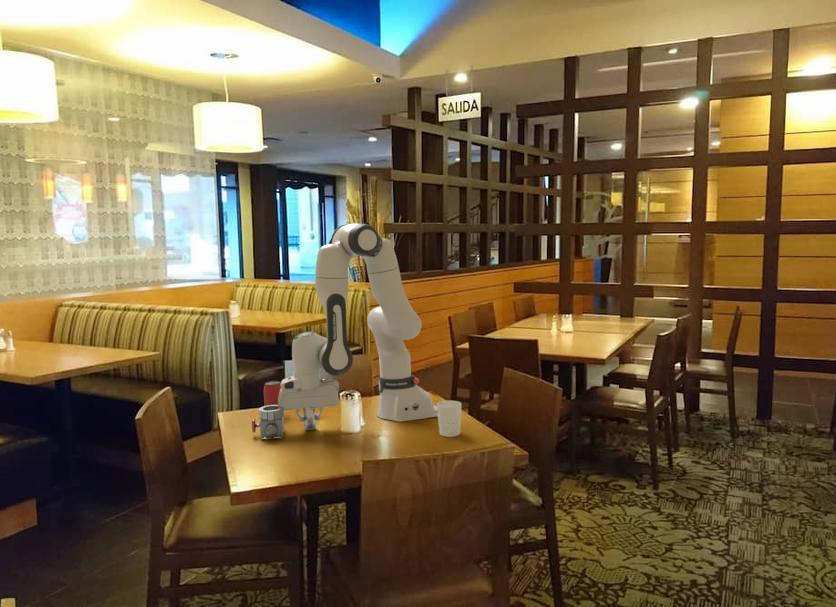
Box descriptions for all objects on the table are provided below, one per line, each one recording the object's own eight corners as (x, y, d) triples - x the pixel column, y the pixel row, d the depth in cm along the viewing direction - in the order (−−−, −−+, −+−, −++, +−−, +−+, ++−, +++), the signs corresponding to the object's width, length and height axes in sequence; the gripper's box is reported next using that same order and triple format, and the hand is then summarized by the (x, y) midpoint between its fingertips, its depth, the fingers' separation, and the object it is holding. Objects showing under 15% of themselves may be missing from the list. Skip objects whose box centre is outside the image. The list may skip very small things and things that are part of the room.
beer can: (281, 416, 231) (279, 384, 229) (263, 417, 231) (261, 385, 230) (285, 411, 237) (283, 380, 236) (267, 412, 237) (265, 380, 236)
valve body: (285, 427, 218) (284, 401, 217) (283, 440, 204) (282, 413, 203) (255, 429, 217) (253, 404, 216) (251, 443, 203) (249, 415, 202)
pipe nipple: (316, 425, 217) (315, 403, 216) (316, 429, 213) (314, 406, 212) (304, 426, 217) (303, 403, 216) (304, 430, 213) (302, 407, 212)
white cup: (460, 438, 201) (459, 407, 200) (435, 437, 203) (434, 406, 202) (463, 430, 209) (462, 400, 208) (439, 429, 210) (439, 400, 209)
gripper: (338, 376, 217) (340, 415, 219) (277, 380, 215) (280, 420, 216) (338, 380, 211) (341, 420, 213) (276, 385, 208) (279, 425, 210)
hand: (309, 420), depth 215 cm, fingers closed on pipe nipple, 4 cm apart
